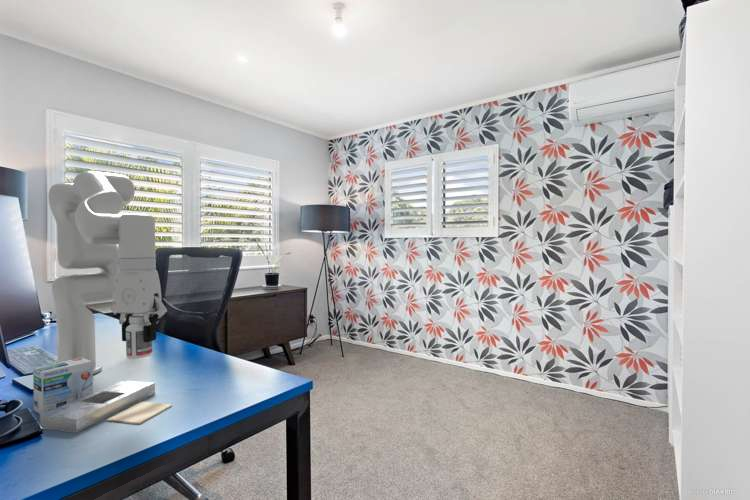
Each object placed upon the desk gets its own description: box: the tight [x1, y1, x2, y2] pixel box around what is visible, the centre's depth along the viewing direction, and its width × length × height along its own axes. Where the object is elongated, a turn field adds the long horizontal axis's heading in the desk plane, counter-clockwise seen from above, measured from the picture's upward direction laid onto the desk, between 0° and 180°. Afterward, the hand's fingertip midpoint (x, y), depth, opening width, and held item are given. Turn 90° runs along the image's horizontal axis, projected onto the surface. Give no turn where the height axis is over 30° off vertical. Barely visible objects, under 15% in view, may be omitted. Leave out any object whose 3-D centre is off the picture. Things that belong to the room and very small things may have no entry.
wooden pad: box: [106, 401, 173, 425], centre depth 93 cm, size 9×10×1 cm
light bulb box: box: [32, 357, 94, 415], centre depth 97 cm, size 11×7×11 cm, turn 148°
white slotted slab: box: [39, 379, 156, 434], centre depth 95 cm, size 10×22×3 cm, turn 168°
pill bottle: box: [125, 314, 153, 360], centre depth 92 cm, size 5×5×10 cm
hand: (139, 339), depth 92 cm, fingers closed on pill bottle, 5 cm apart
